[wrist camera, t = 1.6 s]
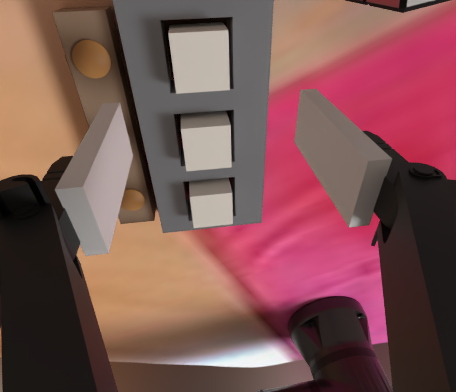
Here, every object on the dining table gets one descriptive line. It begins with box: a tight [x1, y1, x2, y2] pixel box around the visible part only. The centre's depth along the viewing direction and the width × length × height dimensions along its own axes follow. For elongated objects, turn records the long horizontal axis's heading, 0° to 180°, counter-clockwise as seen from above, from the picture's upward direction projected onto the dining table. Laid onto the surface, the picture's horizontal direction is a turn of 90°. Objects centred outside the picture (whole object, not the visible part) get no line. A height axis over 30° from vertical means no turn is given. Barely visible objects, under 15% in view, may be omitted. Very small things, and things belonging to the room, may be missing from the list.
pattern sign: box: [52, 7, 156, 224], centre depth 31 cm, size 22×4×3 cm, turn 2°
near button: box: [168, 22, 230, 94], centre depth 25 cm, size 4×4×4 cm
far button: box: [189, 177, 233, 228], centre depth 34 cm, size 4×4×4 cm
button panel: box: [113, 0, 274, 233], centre depth 31 cm, size 24×12×4 cm, turn 2°
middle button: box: [181, 110, 232, 171], centre depth 30 cm, size 4×4×4 cm
